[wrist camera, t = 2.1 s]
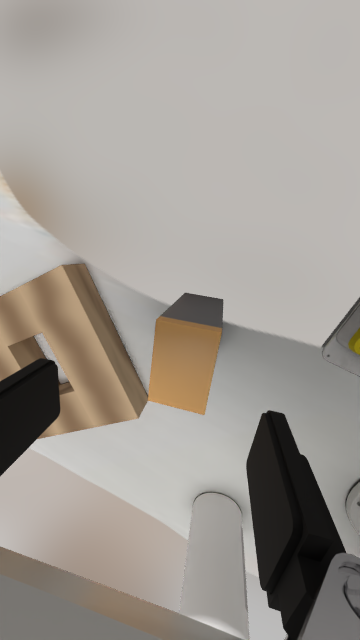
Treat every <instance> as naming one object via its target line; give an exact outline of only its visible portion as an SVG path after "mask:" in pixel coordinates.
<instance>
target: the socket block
mask: <svg viewBox="0 0 360 640" xmlns="http://www.w3.org/2000/svg"><path fill="white" fill-rule="evenodd" d="M39 333H43V335H44V337H45V338H46V340H47V342H48V344H49V346H50V347H51V349H52V351H53V353H54V355H55V356H56V358H57V360H58V362H59V364H60V366H61V367H62V369H63V371H64V373H65V375H66V376H67V378H68V380H69V382H67V383H64V384H60V382H59V395H60V414H59V416H58V418H57V419H56V420H55V421H54V422H53V423H52V424H51V425H50V426H49V427H48V428H47V429H46V430H45V431H44V432H43V433H42V434H41V435H40V436H39V437H38V438H37V439H40V438H45V437H50V436H55V435H59V434H64V433H69V432H74V431H79V430H84V429H89V428H94V427H99V426H103V425H108V424H113V423H118V422H123V421H128V420H133V419H138V418H139V416H140V414H141V412H142V411H143V409H144V407H145V405H146V403H147V401H148V396H147V394H146V392H145V390H144V388H143V385H142V383H141V381H140V379H139V377H138V375H137V373H136V371H135V369H134V367H133V364H132V362H131V360H130V358H129V356H128V354H127V352H126V350H125V348H124V346H123V343H122V341H121V339H120V337H119V335H118V333H117V331H116V329H115V327H114V325H113V322H112V320H111V318H110V316H109V314H108V312H107V310H106V308H105V306H104V304H103V301H102V299H101V297H100V295H99V293H98V291H97V289H96V287H95V285H94V283H93V280H92V278H91V276H90V274H89V272H88V270H87V268H86V266H85V264H71V265H61V266H59V267H57V268H55V269H53V270H51V271H49V272H47V273H45V274H43V275H41V276H39V277H37V278H35V279H33V280H31V281H30V282H28V283H26V284H24V285H22V286H20V287H18V288H16V289H14V290H12V291H10V292H8V293H6V294H4V295H2V296H0V381H2V380H3V379H5V378H7V377H8V376H10V375H12V374H14V373H15V372H17V371H19V370H20V369H22V368H24V367H25V366H27V365H29V364H31V363H32V362H34V361H36V360H37V359H40V358H44V359H46V358H45V356H44V354H43V352H42V351H41V349H40V347H39V345H38V344H37V342H36V340H35V338H34V335H37V334H39Z"/></svg>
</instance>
